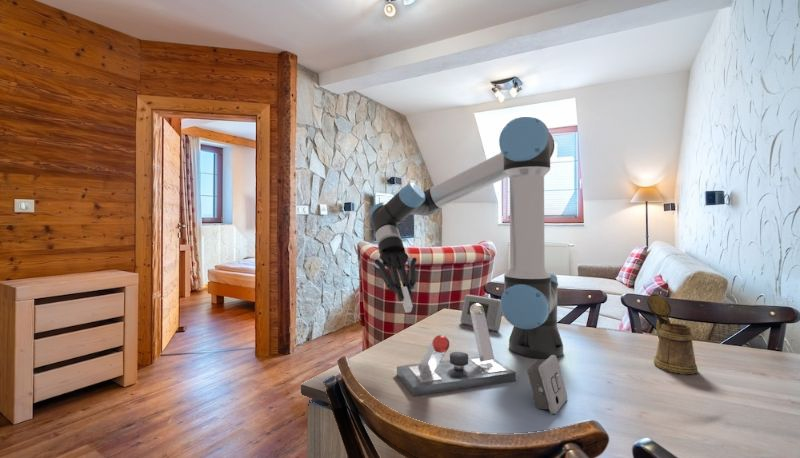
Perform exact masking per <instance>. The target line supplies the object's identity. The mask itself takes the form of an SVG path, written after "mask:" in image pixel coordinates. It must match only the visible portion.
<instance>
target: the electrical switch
mask: <svg viewBox="0 0 800 458" xmlns="http://www.w3.org/2000/svg"><path fill="white" fill-rule="evenodd" d="M526 371H527V375H528V379H529V383H530V387H531V391H532V395H533V398H534V401H535V404H536V405H535V406H536V409H539V410H549V413H550V414H552V415H556V414H557V413H558V412H559V410H560V409H561V408H562V406H563V405H564V403H565V402H566V401H567V400H568V393H567V389H566V385H565V382H564V378H563V375H562V371H561V368H560V364H559V360H558V357H556V355H551V356H550V357H549V358H544V359H538V360H537V361H536V362H535V363H534V364H532V365H531V366H530V367H529V368H527V370H526Z"/></svg>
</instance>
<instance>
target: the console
mask: <svg viewBox="0 0 800 458" xmlns="http://www.w3.org/2000/svg"><path fill="white" fill-rule="evenodd" d="M419 365H420V363H415V364H407V365H397V366H396V376H397V377H398V379H400V381H401V382H402V383H403V385H404V386H405V387H406V388H407V390H408V391H409V393H410V394H411V395H412V396H413V397H417V396H424V395H431V394H438V393H444V392H451V391H457V390H463V389H464V390H465V389H472V388H477V387H483V386H484V387H485V386H492V385H499V384H504V383H505V384H506V383H511V382H516V381H517V372H516V371H514V370H512V369H511V368H510V367H508V366H506V365H505V364H503V363H502V362H500V361H498V360H497V359H496V358H494V360H491V361H483V362H480V358H479V356H473V357H468V364H467V365H464V366H456V365H453V364H451V363H450V359H449V360H448V359H447V360H441V361H440V362H439V364H438V365H437V367H436V369H435V370H434V372H433V373H432V374H426V375H420V372H419V368H418V366H419Z"/></svg>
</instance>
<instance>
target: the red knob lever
mask: <svg viewBox="0 0 800 458" xmlns="http://www.w3.org/2000/svg"><path fill="white" fill-rule="evenodd" d="M449 348H450V340H449V339H448V337H447V336H445V335H442V334H439V335H437V336H435V337H434V338H433V339H432V342H431V344H430V345H429V347H428V349H427V350H426V353H425V354H424V356H423V358H422V359H421V361H420V363H419V364H420V365H419V366H418V368H419V372H420V375H426V374H432V373H433V372H434V370H435V369H436V367H437V365H438V364H439V362H440V361H442V360H443V358H444V356H445V355H446V353H447V351H449Z"/></svg>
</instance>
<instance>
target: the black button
mask: <svg viewBox="0 0 800 458" xmlns="http://www.w3.org/2000/svg"><path fill="white" fill-rule="evenodd" d="M468 358H469V354H468V353H466V352H463V351H453V352H450V353H449V360H450V363H451V364H453V365H456V366H464V365H467V364H468Z"/></svg>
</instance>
